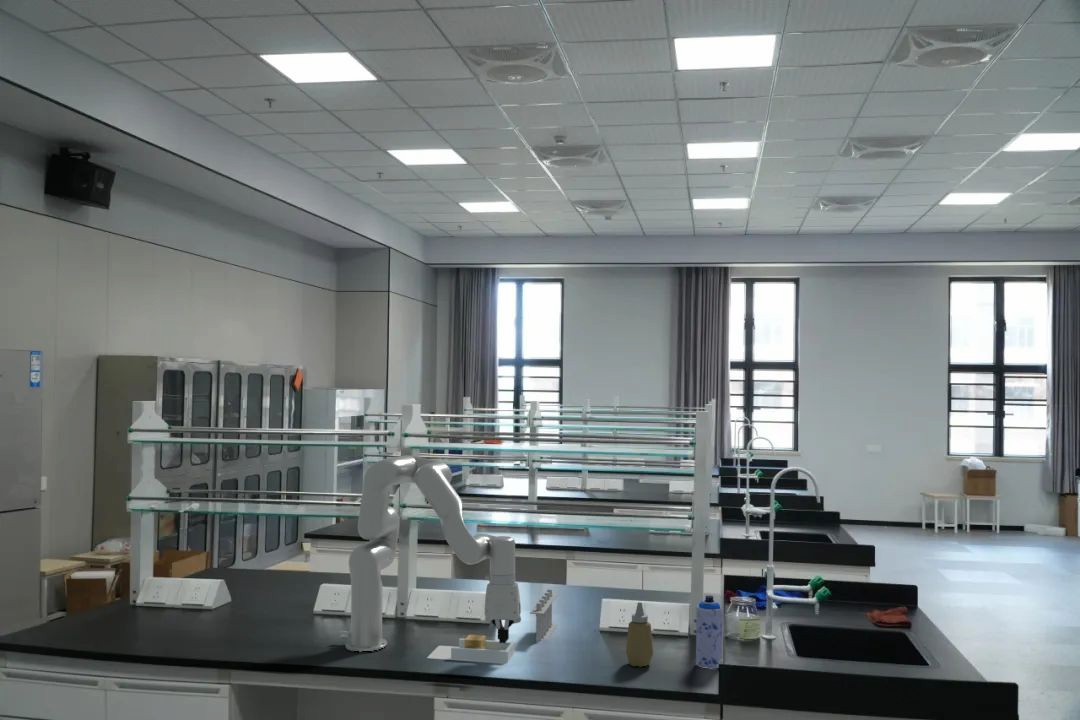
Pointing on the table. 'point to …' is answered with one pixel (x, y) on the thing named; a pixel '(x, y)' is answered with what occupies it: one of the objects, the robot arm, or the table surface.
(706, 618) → the aerosol can
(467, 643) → the block
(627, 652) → the squeeze bottle
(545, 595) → the test tube rack
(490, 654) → the channel
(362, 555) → the robot arm
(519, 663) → the table surface
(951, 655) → the table surface
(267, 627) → the table surface
